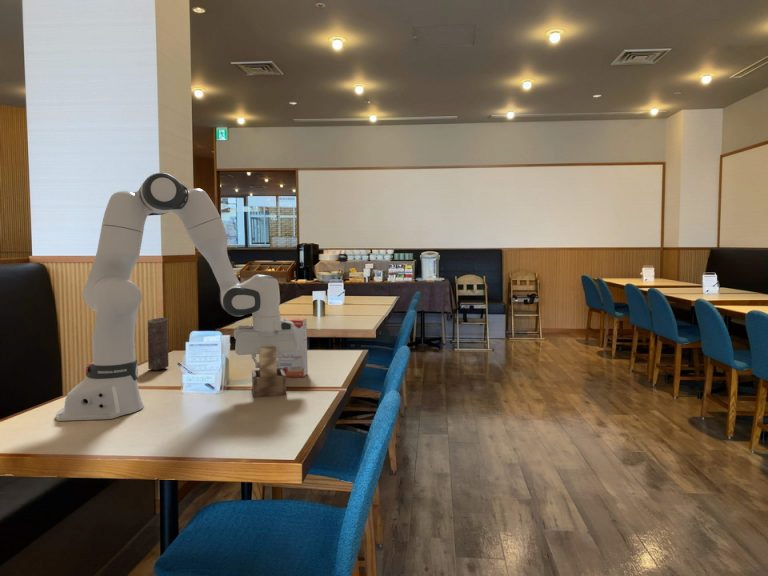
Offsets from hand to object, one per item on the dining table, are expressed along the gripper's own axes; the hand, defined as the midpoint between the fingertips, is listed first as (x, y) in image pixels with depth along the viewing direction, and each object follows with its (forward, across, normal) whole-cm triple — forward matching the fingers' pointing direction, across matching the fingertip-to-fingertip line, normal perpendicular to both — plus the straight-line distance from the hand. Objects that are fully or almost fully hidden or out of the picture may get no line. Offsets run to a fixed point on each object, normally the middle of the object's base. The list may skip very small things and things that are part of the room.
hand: (267, 366), depth 182 cm
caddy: (+8, 0, 0) cm, 8 cm away
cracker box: (+8, +8, +21) cm, 24 cm away
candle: (+8, -39, +48) cm, 62 cm away
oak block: (+5, 0, 0) cm, 5 cm away
